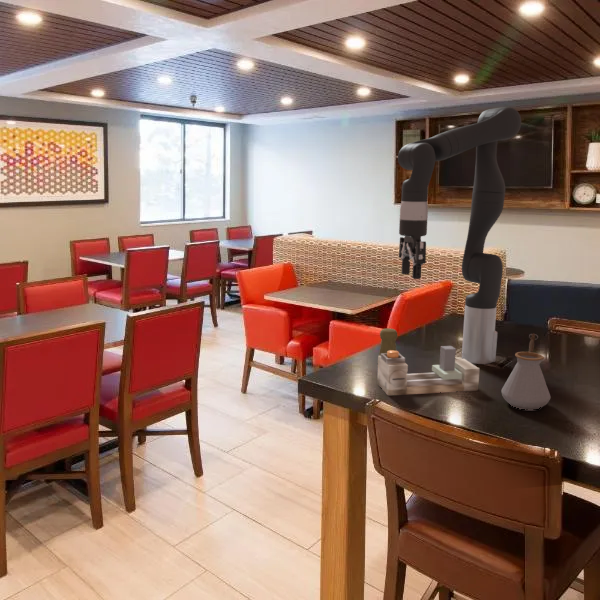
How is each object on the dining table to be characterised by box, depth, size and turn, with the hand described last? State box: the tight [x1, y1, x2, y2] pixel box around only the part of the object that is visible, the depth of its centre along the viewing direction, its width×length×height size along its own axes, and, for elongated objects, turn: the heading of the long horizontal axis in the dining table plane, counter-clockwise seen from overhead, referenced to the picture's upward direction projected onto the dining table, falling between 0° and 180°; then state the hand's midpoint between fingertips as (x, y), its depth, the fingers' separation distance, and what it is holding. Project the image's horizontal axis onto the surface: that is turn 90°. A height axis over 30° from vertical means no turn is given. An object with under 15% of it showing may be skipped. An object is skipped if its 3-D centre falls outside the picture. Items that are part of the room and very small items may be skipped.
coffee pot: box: [501, 332, 552, 411], centre depth 152 cm, size 21×12×15 cm, turn 155°
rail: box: [376, 352, 480, 396], centre depth 159 cm, size 25×10×9 cm, turn 101°
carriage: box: [431, 345, 462, 380], centre depth 160 cm, size 5×8×8 cm, turn 11°
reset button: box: [387, 350, 400, 358], centre depth 157 cm, size 3×3×2 cm
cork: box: [378, 327, 398, 356], centre depth 179 cm, size 6×6×11 cm
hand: (410, 276), depth 167 cm, fingers open, 8 cm apart
